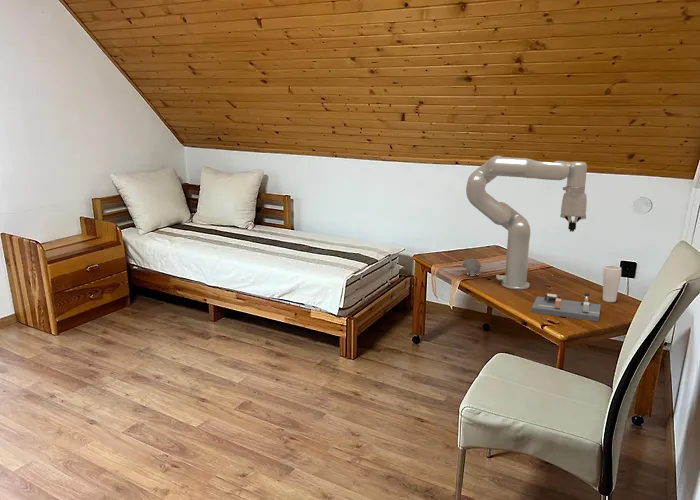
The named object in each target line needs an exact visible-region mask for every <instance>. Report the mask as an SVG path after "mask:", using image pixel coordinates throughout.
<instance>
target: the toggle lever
mask: <svg viewBox="0 0 700 500" xmlns="http://www.w3.org/2000/svg"><path fill="white" fill-rule="evenodd" d="M589 296H590V293H589V292H585V293H584V302H589Z"/></svg>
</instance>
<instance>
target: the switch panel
mask: <svg viewBox="0 0 700 500" xmlns="http://www.w3.org/2000/svg"><path fill="white" fill-rule="evenodd" d="M547 294H548V292H544V296H538V295H537V296H536V298H535V301H534V302H533V304H532V307H531V313H533V314H534V313H536V314H543V315H549V316H550V315H551V316H556V317H565V318H569V319H570V318H571V319H578V320H585V321H592V322H600V314H601V305H602V304H599V303H593V302H592V303H591V302H589V301H588V302H589V312H584V311H583V305H584V302H585V301H577V300H569V299H568V300H567V299H562V298H561V294H558V295H557V296H558V299H561V307H560V308H555V300H556V299H552V298H548V296H547Z"/></svg>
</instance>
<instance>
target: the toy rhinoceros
mask: <svg viewBox="0 0 700 500" xmlns="http://www.w3.org/2000/svg"><path fill="white" fill-rule="evenodd" d="M461 266H462V268H464V269H466V272H465V274H466V273H468V274H470V275H475V276H476V274H479V276H481V275H480V274H482V272H481V268H482V267H481V262H480V261H479V260H478V259H477V258H470V257H469V258H468V259H465V258H464V259H463V262H462V264H461ZM475 273H476V274H475ZM470 275H469V276H470Z"/></svg>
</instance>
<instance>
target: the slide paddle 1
mask: <svg viewBox="0 0 700 500" xmlns="http://www.w3.org/2000/svg"><path fill="white" fill-rule="evenodd" d="M561 299H562V298H560V299H558V298H556V300H555V308H560V307H561Z"/></svg>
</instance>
